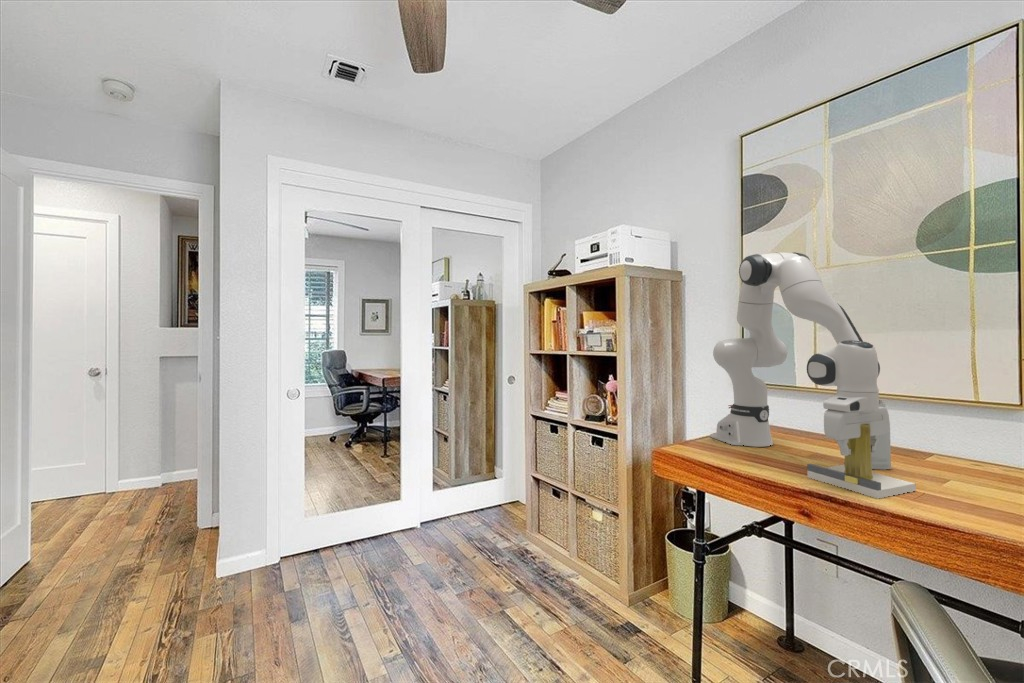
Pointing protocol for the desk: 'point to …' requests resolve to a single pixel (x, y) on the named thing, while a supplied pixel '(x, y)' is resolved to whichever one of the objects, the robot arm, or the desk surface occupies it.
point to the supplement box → (882, 453)
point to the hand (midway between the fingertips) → (858, 453)
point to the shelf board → (860, 481)
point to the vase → (860, 455)
